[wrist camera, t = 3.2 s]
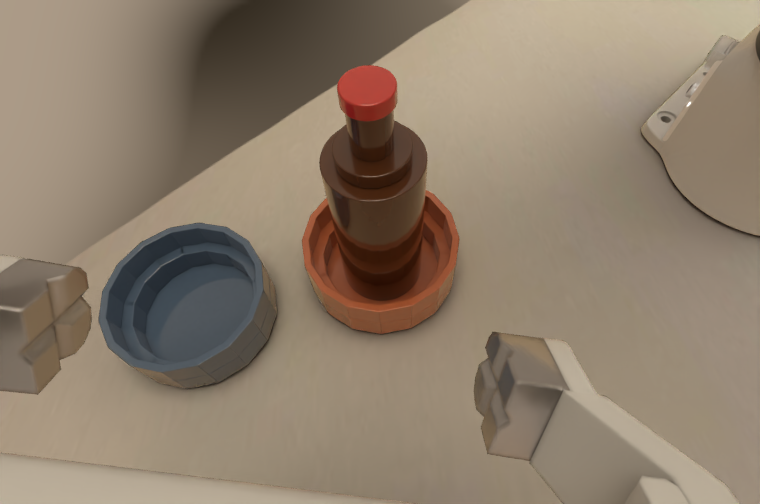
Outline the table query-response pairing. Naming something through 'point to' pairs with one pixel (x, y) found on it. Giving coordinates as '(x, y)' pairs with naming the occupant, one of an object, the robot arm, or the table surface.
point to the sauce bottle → (375, 187)
